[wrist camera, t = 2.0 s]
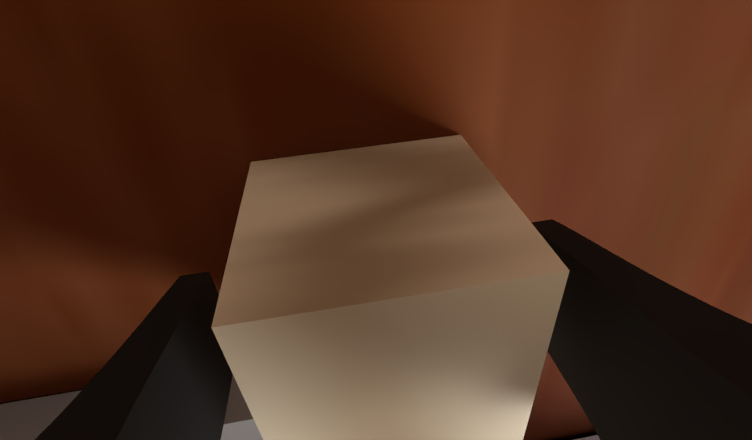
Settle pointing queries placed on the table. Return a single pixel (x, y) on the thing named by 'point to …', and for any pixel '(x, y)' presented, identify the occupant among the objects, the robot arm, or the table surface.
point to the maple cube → (386, 297)
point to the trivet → (32, 416)
